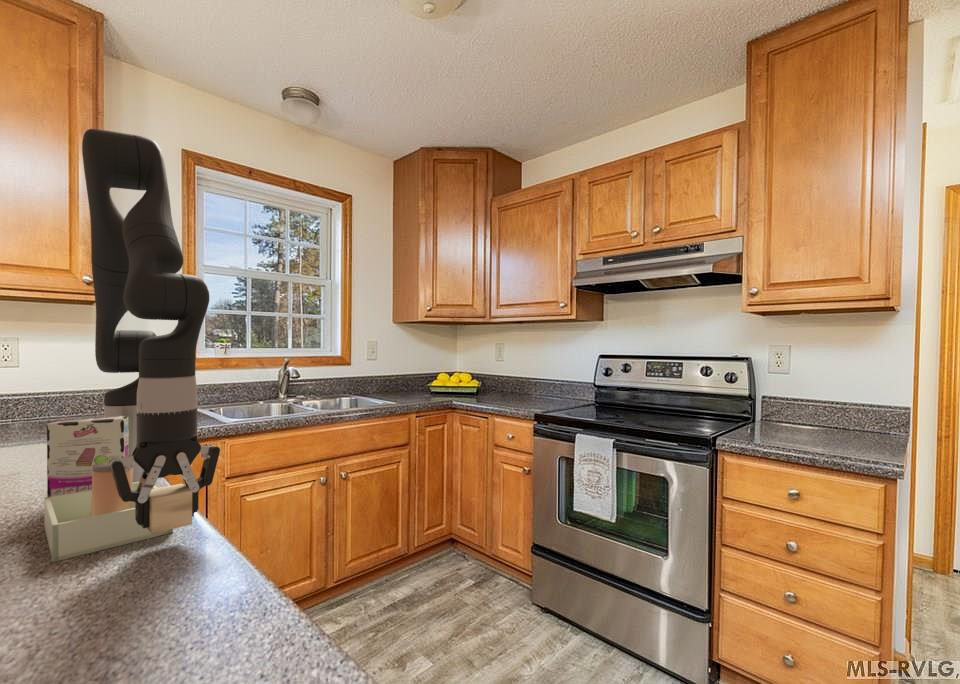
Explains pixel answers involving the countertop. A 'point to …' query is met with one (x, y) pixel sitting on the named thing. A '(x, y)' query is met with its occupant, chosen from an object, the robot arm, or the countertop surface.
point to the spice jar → (107, 490)
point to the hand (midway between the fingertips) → (167, 520)
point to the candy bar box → (82, 450)
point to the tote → (88, 526)
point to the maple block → (170, 508)
